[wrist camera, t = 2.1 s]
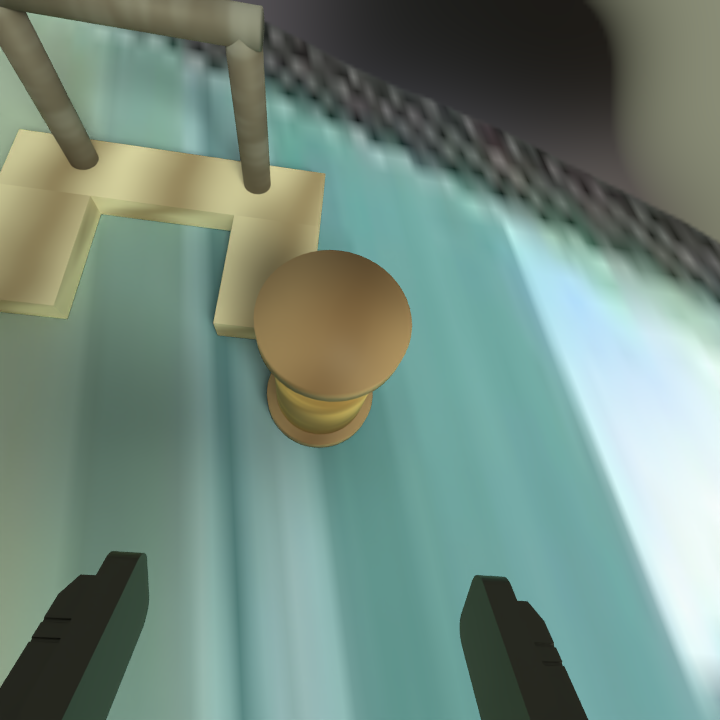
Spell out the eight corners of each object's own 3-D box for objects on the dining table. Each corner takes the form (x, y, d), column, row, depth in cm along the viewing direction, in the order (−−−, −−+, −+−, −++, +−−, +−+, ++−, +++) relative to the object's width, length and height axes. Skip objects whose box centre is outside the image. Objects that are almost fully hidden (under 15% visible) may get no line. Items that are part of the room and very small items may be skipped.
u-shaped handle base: (-32, 308, 25) (-285, 128, 14) (33, 150, 29) (-125, -87, 18) (306, 344, 27) (317, 210, 16) (323, 191, 31) (341, 0, 20)
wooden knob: (261, 442, 25) (242, 385, 15) (274, 344, 27) (265, 241, 17) (366, 451, 25) (410, 401, 16) (372, 355, 27) (413, 259, 18)
